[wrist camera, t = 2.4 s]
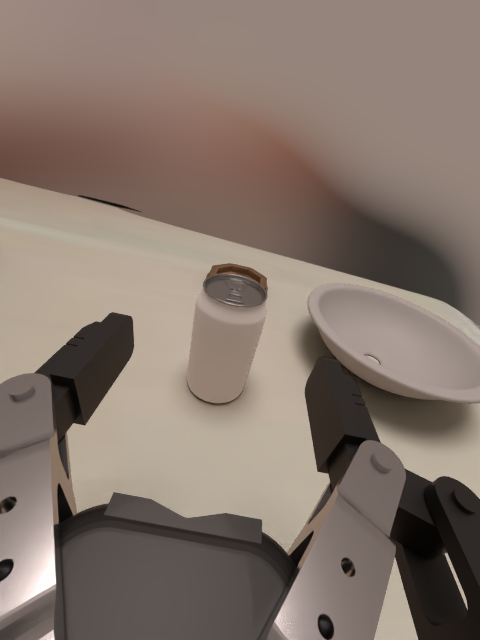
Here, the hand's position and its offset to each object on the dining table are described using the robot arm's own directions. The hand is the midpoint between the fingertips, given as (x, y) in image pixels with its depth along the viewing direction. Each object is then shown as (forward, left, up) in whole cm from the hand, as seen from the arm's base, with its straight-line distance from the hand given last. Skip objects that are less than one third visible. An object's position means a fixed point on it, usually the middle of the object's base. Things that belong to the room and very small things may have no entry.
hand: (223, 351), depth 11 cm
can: (0, +11, -15) cm, 19 cm away
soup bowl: (+22, +21, -15) cm, 34 cm away
